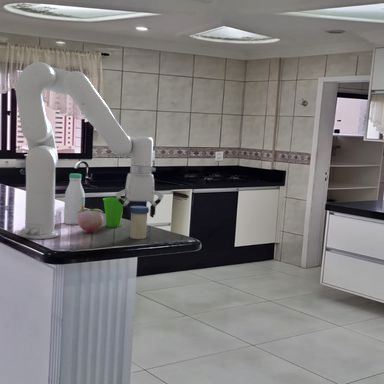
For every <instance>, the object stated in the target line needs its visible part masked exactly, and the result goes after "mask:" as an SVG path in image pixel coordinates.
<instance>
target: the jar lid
mask: <svg viewBox="0 0 384 384" xmlns="http://www.w3.org/2000/svg"><path fill="white" fill-rule="evenodd" d="M129 213H130V214H131V213H136V214H146V213H147V214H150V207H149V206H145V205H131V206H130V207H129Z"/></svg>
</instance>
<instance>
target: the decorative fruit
mask: <svg viewBox="0 0 384 384" xmlns="http://www.w3.org/2000/svg"><path fill="white" fill-rule="evenodd" d="M81 211H82V212H81ZM79 212H81V213H80V214H79V216H78V224H77V225H78V226H79V227H80V229H82V230H83V231H85V232H87V233H89V234H91V233H93V232H95V231H97V230H98V229H100V228H101V226H102V225H103V223H104V217H103V214H105V211H104V210H102V209H99V208H92V206H90V205H89V208H84V209H82V210H80V211H79ZM79 212H78V213H79ZM102 213H103V214H102Z"/></svg>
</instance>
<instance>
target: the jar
mask: <svg viewBox="0 0 384 384" xmlns="http://www.w3.org/2000/svg"><path fill="white" fill-rule="evenodd" d="M147 226H148V213H146V214H136V213H131V212H130V230H129V238H130V239H133V240H144V239H147Z"/></svg>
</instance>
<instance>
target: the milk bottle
mask: <svg viewBox="0 0 384 384" xmlns="http://www.w3.org/2000/svg"><path fill="white" fill-rule="evenodd" d="M68 175H69V176H68V177H69V182H68V185H67V188H66V189H65V192H64V208H63V209H64V210H63V223H64V224H67V225H79V224H78V216H79V214H80V213H81V212H82V211H81V212H79V211H80V210H82V209H85V204H86V202H85V201H86V198H85V197H86V196H85V191H84V188H83V185H82V176H83V175H82V174H81V173H70V174H68ZM78 212H79V213H78Z"/></svg>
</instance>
